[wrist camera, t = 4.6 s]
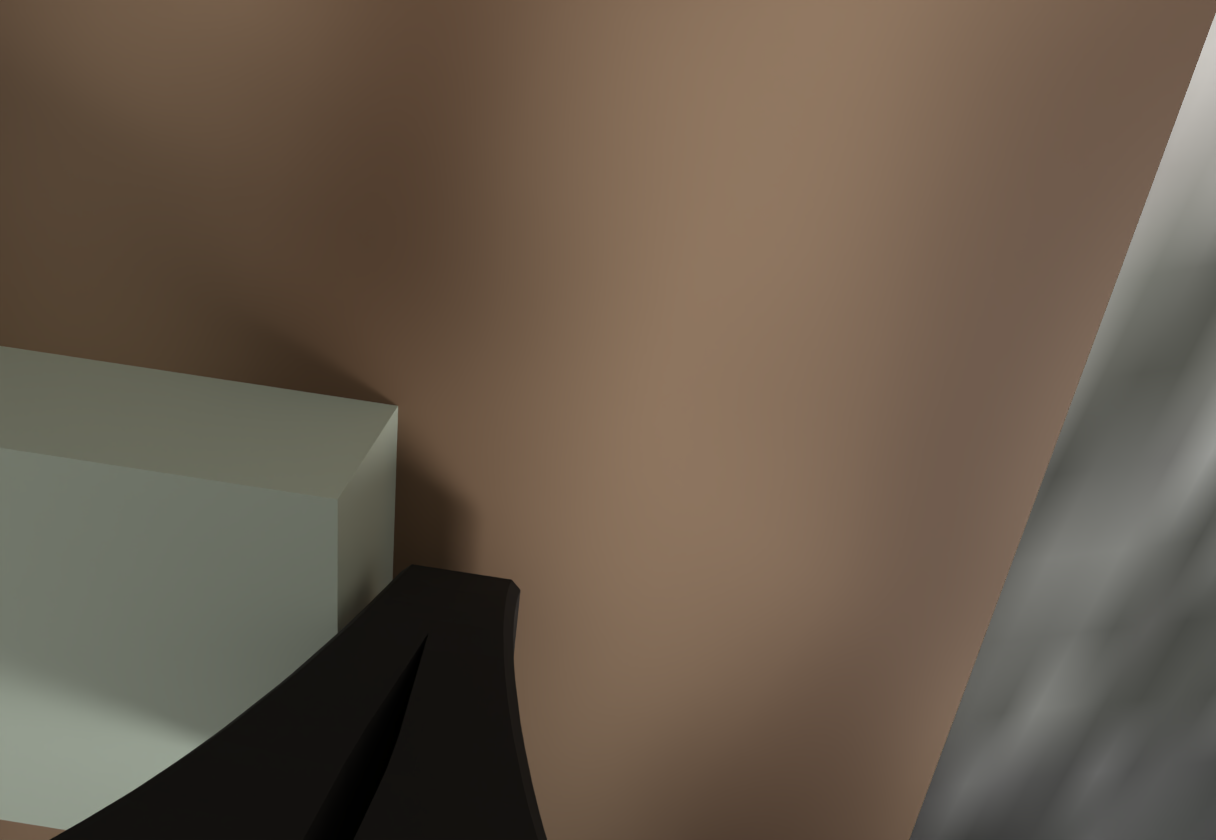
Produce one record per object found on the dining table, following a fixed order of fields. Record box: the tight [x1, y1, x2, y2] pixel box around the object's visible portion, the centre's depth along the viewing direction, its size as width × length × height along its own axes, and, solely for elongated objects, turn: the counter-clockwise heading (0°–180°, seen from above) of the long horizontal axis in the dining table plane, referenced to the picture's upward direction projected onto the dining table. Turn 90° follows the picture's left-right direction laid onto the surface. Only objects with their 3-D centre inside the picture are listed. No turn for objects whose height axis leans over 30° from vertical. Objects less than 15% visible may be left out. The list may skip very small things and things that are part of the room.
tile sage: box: [0, 346, 398, 830], centre depth 11 cm, size 5×5×2 cm
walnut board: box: [0, 0, 1216, 840], centre depth 13 cm, size 14×16×2 cm
